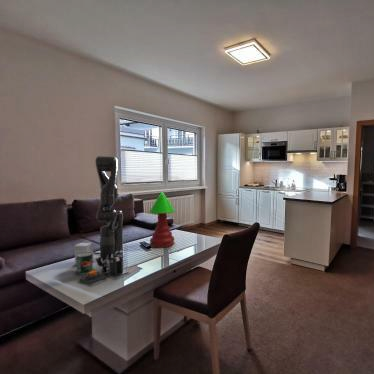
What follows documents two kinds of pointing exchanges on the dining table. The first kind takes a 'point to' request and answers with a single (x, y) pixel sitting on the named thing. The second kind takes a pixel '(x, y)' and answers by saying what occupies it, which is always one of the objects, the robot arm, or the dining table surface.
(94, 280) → the power block
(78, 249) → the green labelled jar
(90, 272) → the power button
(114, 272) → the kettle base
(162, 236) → the table lamp
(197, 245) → the dining table surface
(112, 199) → the robot arm
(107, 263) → the switch
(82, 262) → the canned tomato
